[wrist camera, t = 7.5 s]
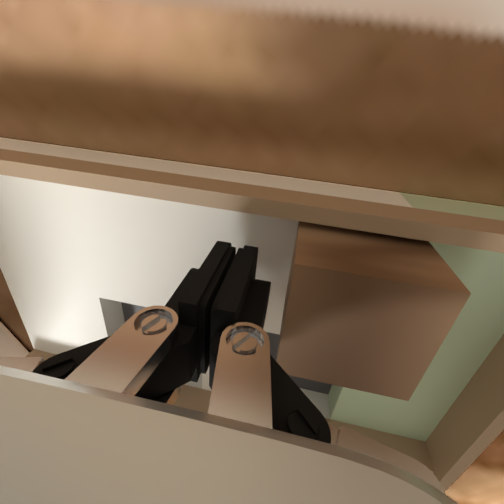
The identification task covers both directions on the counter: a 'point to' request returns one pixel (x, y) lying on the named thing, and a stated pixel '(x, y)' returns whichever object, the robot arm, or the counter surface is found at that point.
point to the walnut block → (366, 309)
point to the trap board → (268, 269)
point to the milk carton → (10, 344)
